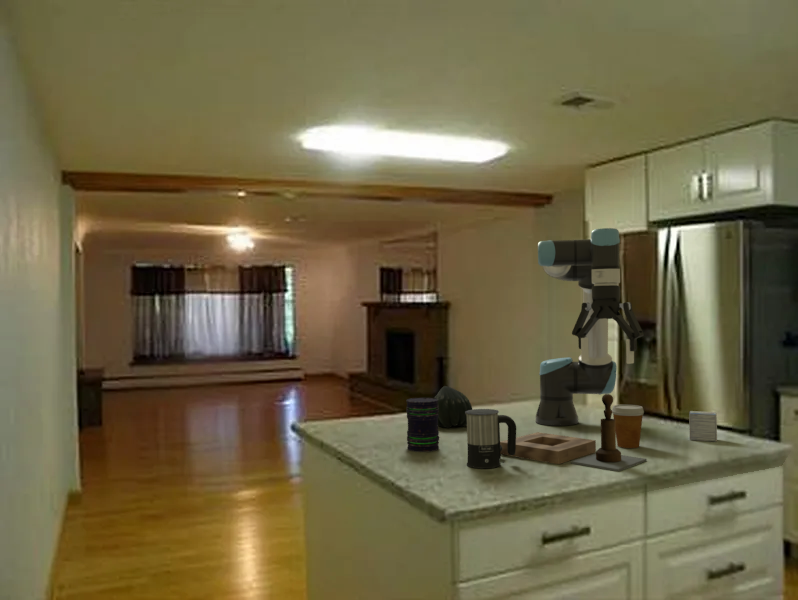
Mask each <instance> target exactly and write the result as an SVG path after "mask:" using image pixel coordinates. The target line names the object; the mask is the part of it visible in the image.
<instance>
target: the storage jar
mask: <svg viewBox="0 0 798 600" xmlns="http://www.w3.org/2000/svg"><path fill="white" fill-rule="evenodd" d="M405 408H406V412H405V413H406V418H407V431H406V433H407V434H406V435H407V436H406V441H407V442H406V443H407V450H408V451H410V452H415V453H417V452H418V453H429V452H430V453H431V452H435V451H438V450H440V447H439V445H440V444H439V443H440V436H439V435H440V433H439V428H438V427H439V426H438V416H439V415H438V412H439V408H438V399H436V398H435V397H411V398H407V399H406V407H405Z"/></svg>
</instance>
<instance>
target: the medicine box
mask: <svg viewBox="0 0 798 600" xmlns="http://www.w3.org/2000/svg"><path fill="white" fill-rule="evenodd" d="M717 418H718V417H717V412H716V411H700V410H699V411H696V410H694V411H693V410H690V411H689V414H688V419H689V420H688V421H689V423H688V427H689V441H699V442H700V441H701V442H702V441H703V442H716V443H717V441H718V426H717V425H718V422H717V421H718V419H717Z"/></svg>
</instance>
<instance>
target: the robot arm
mask: <svg viewBox="0 0 798 600" xmlns="http://www.w3.org/2000/svg"><path fill="white" fill-rule="evenodd" d="M620 243H621V239H620V232H619V229H617V228H616V227H615V228H612V227H609V228H608V227H606V228H595V229H593V230H592V231H591V233H590V238H589V239H588V238H587V239H585V238H583V239H564V240H559V239H556V240H554V239H553V240H552V239H548V240H541V241H539V242H538V243H537V261H538V262H537V263H538V265H539V266H540V267H542V269H543V271H544V273H546V275H548V276H549V277H551V278H554V279H556V280H561V281H564V282H565V281H566V282H578V285H577V286H578V287H579V288H580V289H581V290H582V303H581V309H580V312H579V315H578V317H577V320H576V321H575V325H574V327H573V329H572V330H571V331H572V332H571V334H572V335H573V336H575V337H577V339H578V349H579V350H580V355H579V356H578V361H574V360H573V358H572V357H558V358H552V359H546V360H543V361H541V363H539V364H540V365H539V374H538V375H539V399H540V401H539V404H538V407H537V410H536V413H535V423H536V424H540V425H544V426H558V427H559V426H561V427H562V426H563V427H564V426H572V425H577V424H579V416H578V413H577V412H578V411H577V410H576V407H575V404H574V395H575V394H577V395H598V396H599V395H605V394H610V395H611V393H613V392H614V390H615V387H616V381H617V369H618V368H617V362H616V361H614V360H613V357H612V356H611V355H610V354H609V320H611V319H612V320H613V321H615V323H617V325H618V326H619V327H620V328H621V330H622V332H624V333H625V335H626V336H627V337H628V338H627V339H625V345H626V356H625V357H626V364H628V365H630V364H631V365H632V364H634V363H635V352H636V351H637V349H638V348H637V347H638V345H637V342H638V341H637V339H638V338H642V337H644V335H645V334H644V332H643V329H642V327H641V325H640V323H639V321H638V319H637V316H636V315H635V313H634V311H633V306H632V302H631V301H629V302H628V301H627V302H626V301H625V302H622V303H621V301H620V300H621V286H620V285H619V284H620V283H621V267H620V256H621V255H620ZM621 309H622V311H623V312H624V315H625V317H626V319H627V321H628V322H627V321H626V319H624V317H623V315H622V313H621V312H620V310H621Z"/></svg>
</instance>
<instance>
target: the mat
mask: <svg viewBox="0 0 798 600" xmlns="http://www.w3.org/2000/svg"><path fill="white" fill-rule="evenodd" d="M645 462H647V458H644V457H643V458H642V457H638V456H637V457H636V456H630V455H625V454H621V461H619V462H603V461H598V460H596V452H595V453H592V454H589V455H586V456H583V457H580V458H576V459H573V460H570V464H573V465H578V466H583V467H590V468H597V469H602V470H607V471H614V472H621V471H624V470H625V469H628V468H629V469H630V468H632V467H634V466H637V465H639V464H642V463H645Z"/></svg>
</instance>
